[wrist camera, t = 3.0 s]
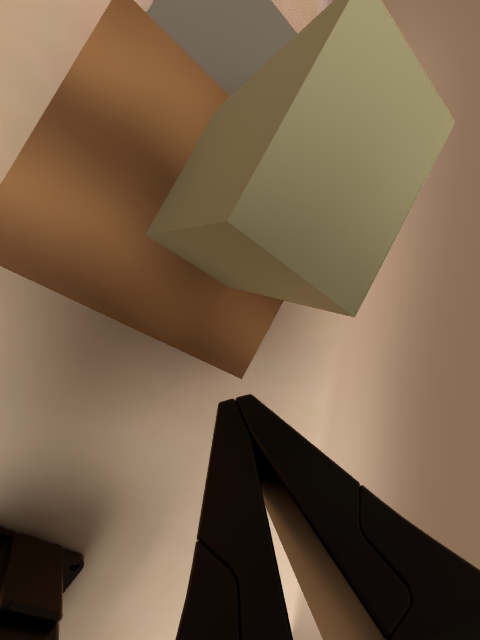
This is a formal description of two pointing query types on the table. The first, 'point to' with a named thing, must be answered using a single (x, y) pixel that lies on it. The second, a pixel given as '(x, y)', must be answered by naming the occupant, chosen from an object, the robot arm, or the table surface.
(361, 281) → the card box
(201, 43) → the mat
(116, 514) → the table surface
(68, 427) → the table surface
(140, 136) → the panel
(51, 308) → the table surface
